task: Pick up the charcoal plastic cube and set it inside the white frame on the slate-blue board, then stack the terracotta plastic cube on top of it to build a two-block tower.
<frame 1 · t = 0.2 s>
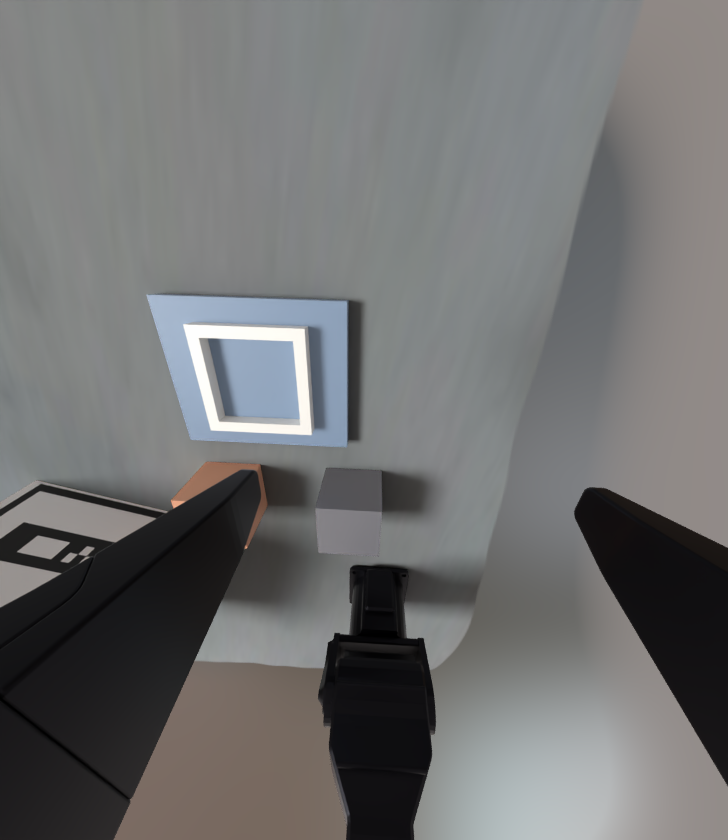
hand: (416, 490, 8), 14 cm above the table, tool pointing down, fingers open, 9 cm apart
terracotta cube: (238, 483, 27), on the table
charcoal cube: (353, 489, 26), on the table
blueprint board: (263, 375, 21), on the table
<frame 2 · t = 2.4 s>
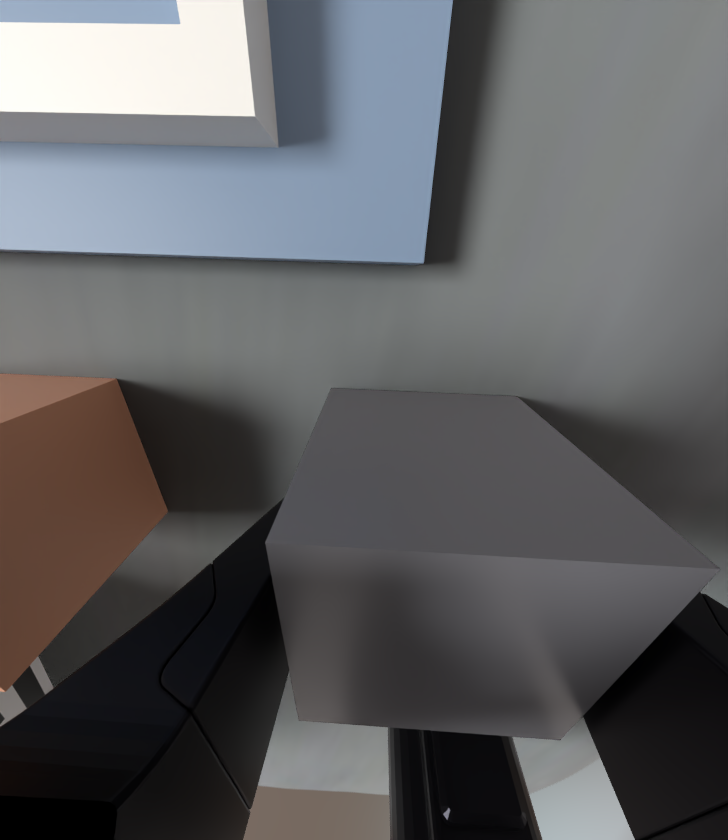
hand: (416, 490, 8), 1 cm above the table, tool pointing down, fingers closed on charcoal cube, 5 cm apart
terracotta cube: (72, 448, 9), on the table
charcoal cube: (412, 467, 9), on the table, touching gripper
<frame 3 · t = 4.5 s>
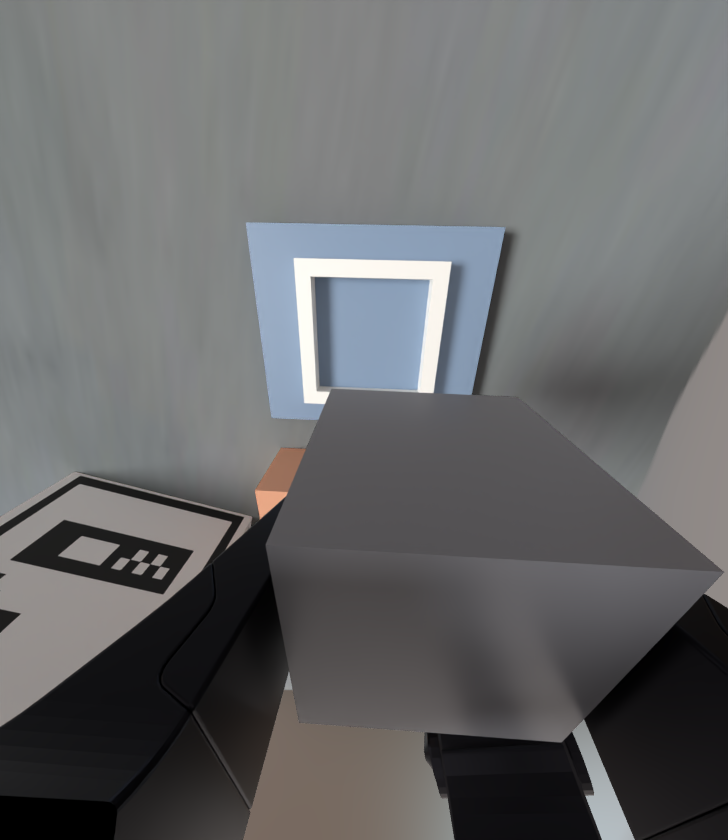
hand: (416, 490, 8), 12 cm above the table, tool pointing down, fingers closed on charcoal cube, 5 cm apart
terracotta cube: (315, 475, 22), on the table
charcoal cube: (413, 468, 9), point 11 cm above the table, touching gripper
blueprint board: (370, 335, 17), on the table
when the fingers open (3 cm above the table, at t = 6.5 s): charcoal cube drops 1 cm, resting on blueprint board.
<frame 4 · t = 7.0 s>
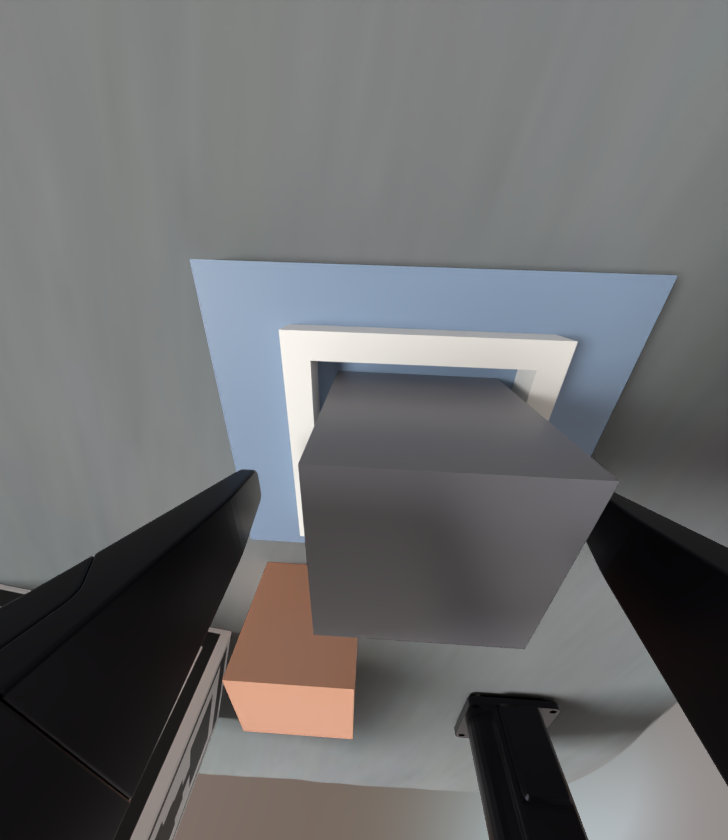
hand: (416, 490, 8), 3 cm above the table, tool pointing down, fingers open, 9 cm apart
terracotta cube: (316, 592, 16), on the table
charcoal cube: (408, 442, 10), point 1 cm above the table, touching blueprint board
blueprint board: (405, 429, 11), on the table
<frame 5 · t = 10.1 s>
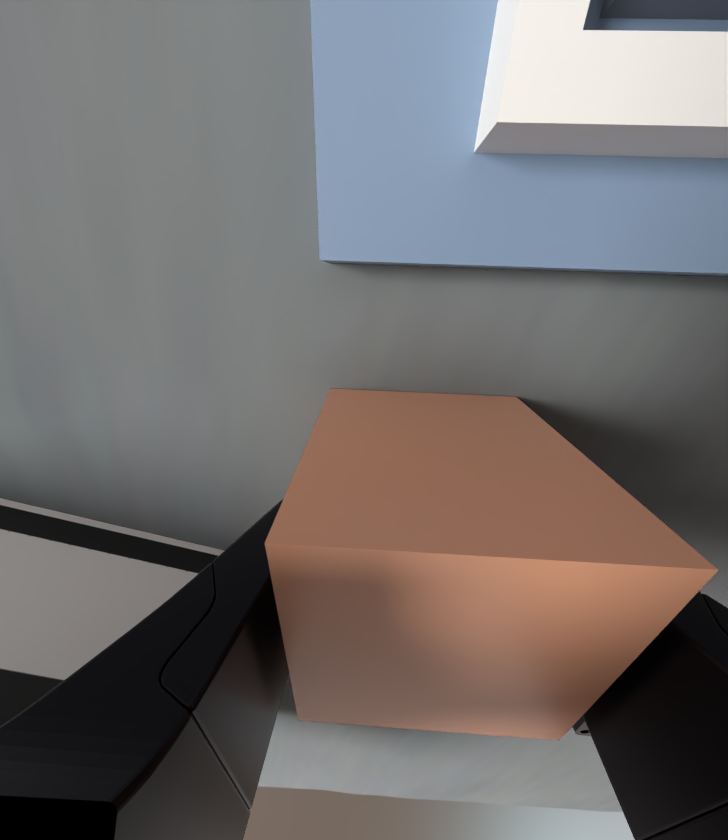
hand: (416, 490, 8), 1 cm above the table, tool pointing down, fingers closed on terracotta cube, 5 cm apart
terracotta cube: (412, 467, 9), on the table, touching gripper
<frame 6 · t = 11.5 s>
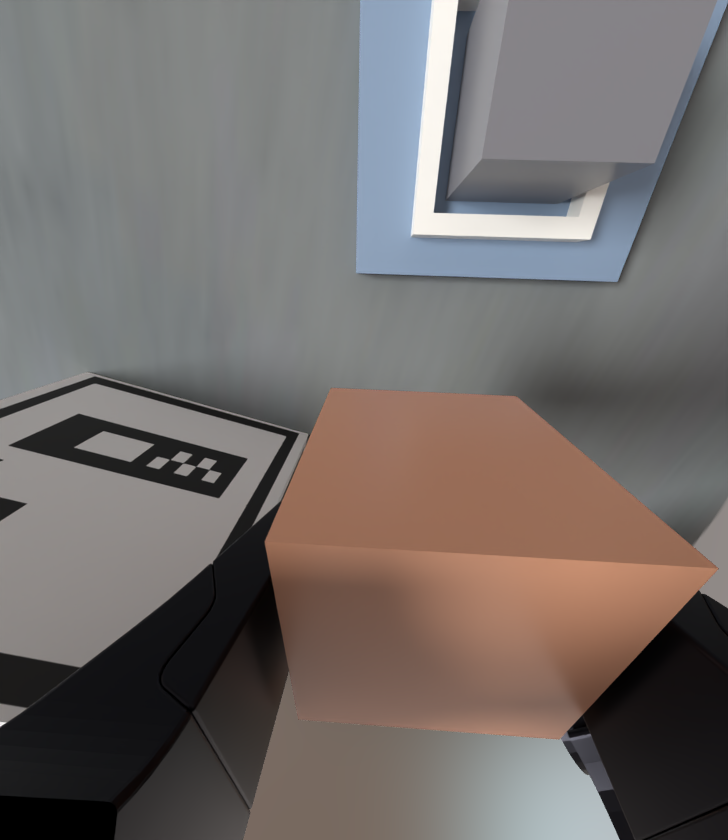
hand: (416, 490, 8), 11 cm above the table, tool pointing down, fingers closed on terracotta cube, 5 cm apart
terracotta cube: (412, 467, 9), point 10 cm above the table, touching gripper
charcoal cube: (516, 127, 12), point 1 cm above the table, touching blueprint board
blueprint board: (505, 138, 12), on the table
when the fingers open (8 cm above the table, at t = 13.3 s): terracotta cube stays where it is, resting on charcoal cube.
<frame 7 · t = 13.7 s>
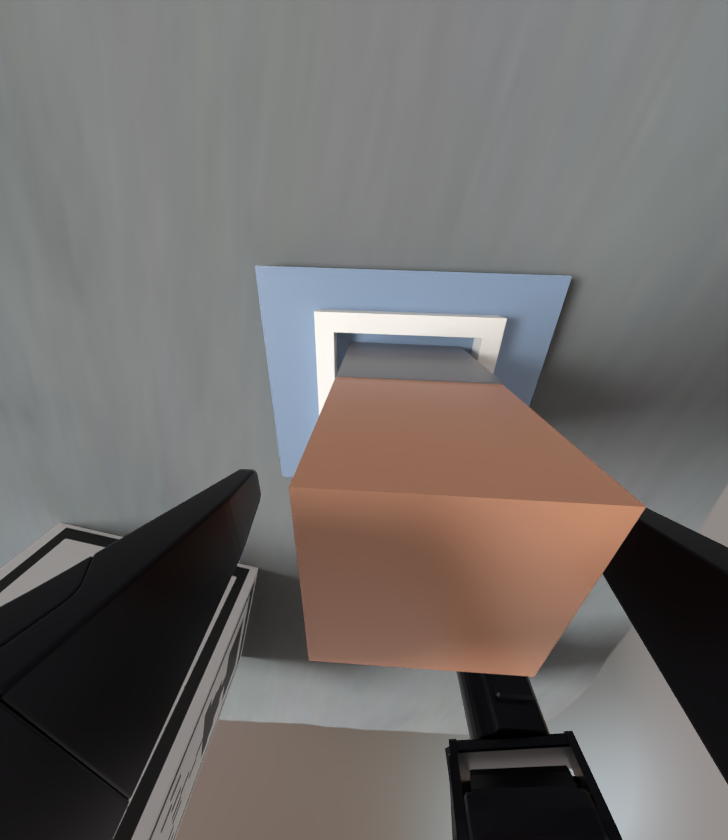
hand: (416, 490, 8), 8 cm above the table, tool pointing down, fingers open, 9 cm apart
terracotta cube: (409, 450, 10), point 6 cm above the table, touching charcoal cube
charcoal cube: (400, 394, 14), point 1 cm above the table, touching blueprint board, terracotta cube
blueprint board: (398, 388, 15), on the table
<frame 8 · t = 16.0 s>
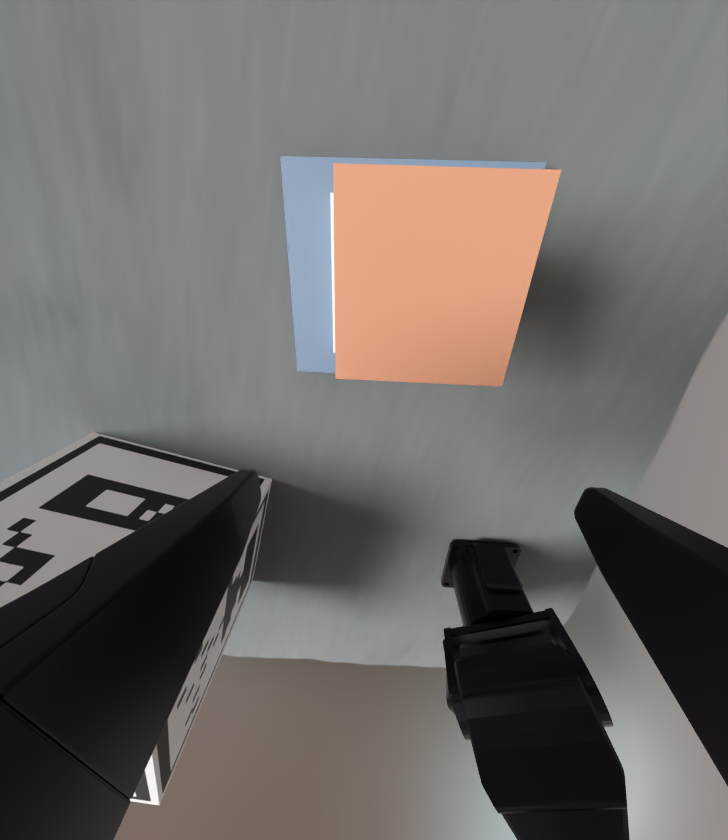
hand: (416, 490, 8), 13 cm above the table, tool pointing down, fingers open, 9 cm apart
terracotta cube: (410, 286, 12), point 6 cm above the table, touching charcoal cube
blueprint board: (400, 283, 17), on the table
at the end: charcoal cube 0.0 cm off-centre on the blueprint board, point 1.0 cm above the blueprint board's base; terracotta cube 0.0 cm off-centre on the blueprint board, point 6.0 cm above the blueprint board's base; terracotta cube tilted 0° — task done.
